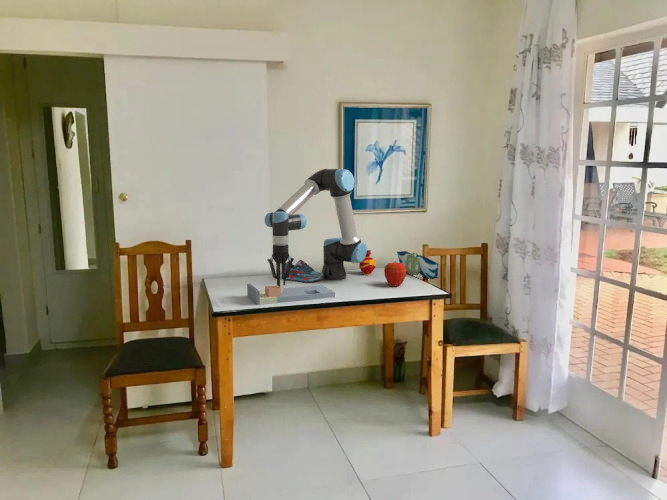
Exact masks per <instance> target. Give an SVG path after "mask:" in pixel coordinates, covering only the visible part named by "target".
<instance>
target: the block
mask: <svg viewBox="0 0 667 500" xmlns="http://www.w3.org/2000/svg"><path fill="white" fill-rule="evenodd" d="M264 290H265V295H266V296H268V297H277V296H281V288H280V287H279V286H277V285H267V286H264Z"/></svg>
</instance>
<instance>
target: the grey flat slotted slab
mask: <svg viewBox="0 0 667 500" xmlns="http://www.w3.org/2000/svg"><path fill="white" fill-rule="evenodd" d="M246 285H247V286H246V289H247V290H246V291H247V292H246V293H247V297H248V299H250V300H251V301H252V302H253V303H254V304H255V305H260V306H261V305H268V304H269V305H270V304H278V303H287V302H288V303H289V302H299V301H309V300H318V299H328V298H335V297H336V291H334V290H332V289H330V288H328V287H327V286H325V285H323V284H317V285H305V286H295V287H283V293H281V296H277V297H268V296H266V295H265V289H260V290H259V289H258V288H257V287H255V285H253V284H252V283H251V282H249V283H247V284H246Z"/></svg>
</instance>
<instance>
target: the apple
mask: <svg viewBox="0 0 667 500" xmlns="http://www.w3.org/2000/svg"><path fill="white" fill-rule="evenodd" d="M396 261H397V260H395V261H394V262H388V263H387V264H386V265H385V267H384V271H383V272H384V277H385V280H386V282H387V284H389V286H391V287H395V288H396V287H399V286H401V285H402V284H404V281H405V279H406V275H407V272H408V271H407V270H406V267H405V266H404V265H403V264H402V263H400V262H398V261H397V262H396Z"/></svg>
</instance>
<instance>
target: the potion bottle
mask: <svg viewBox="0 0 667 500" xmlns="http://www.w3.org/2000/svg"><path fill="white" fill-rule="evenodd" d="M371 251H372V250H370V249H367V253H366V256H365V258H364V260H363V261H362V262H360V263H358V264H359V265H358V267H359V268H358V269H360V271H361V272H362V273H363V275H364V276H370V275H371V274H372V272H373V271H375V269H376V266H377V263H376V262H377V260H375V258H372V257H371V254H372V252H371Z"/></svg>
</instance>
